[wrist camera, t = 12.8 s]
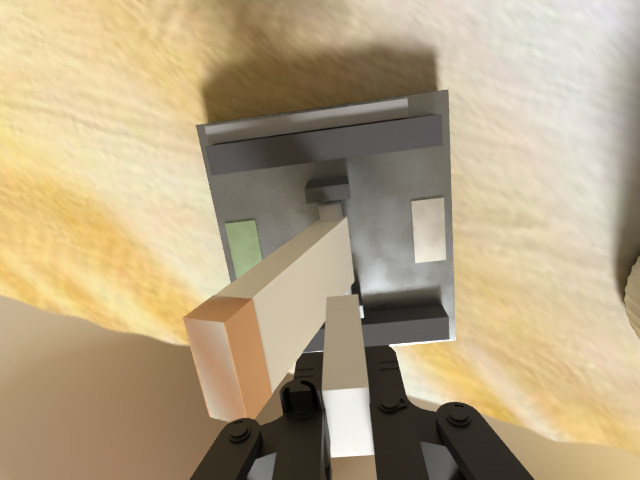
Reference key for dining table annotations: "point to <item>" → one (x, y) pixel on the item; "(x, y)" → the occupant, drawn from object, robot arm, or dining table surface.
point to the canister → (633, 297)
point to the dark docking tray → (331, 146)
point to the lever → (269, 317)
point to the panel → (353, 214)
